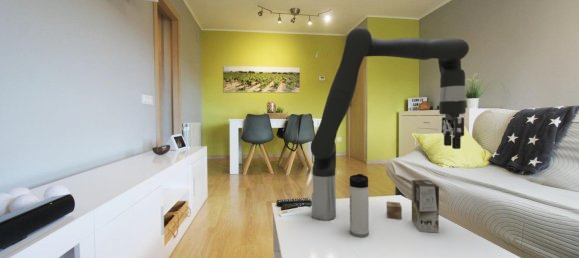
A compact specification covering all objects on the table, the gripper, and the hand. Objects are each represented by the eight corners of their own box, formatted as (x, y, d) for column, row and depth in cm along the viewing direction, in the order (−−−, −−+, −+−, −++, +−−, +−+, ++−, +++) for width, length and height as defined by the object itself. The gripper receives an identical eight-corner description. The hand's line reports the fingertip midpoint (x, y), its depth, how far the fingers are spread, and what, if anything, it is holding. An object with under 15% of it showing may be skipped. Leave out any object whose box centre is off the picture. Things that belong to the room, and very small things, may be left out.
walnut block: (387, 218, 93) (387, 205, 93) (386, 213, 98) (386, 201, 98) (401, 219, 92) (401, 207, 91) (399, 214, 96) (399, 202, 96)
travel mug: (369, 230, 83) (369, 174, 83) (367, 238, 77) (367, 179, 77) (351, 227, 86) (351, 173, 85) (348, 235, 80) (347, 177, 79)
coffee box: (439, 233, 80) (439, 186, 80) (419, 231, 82) (419, 185, 81) (429, 221, 89) (429, 179, 88) (411, 220, 90) (411, 179, 90)
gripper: (434, 102, 89) (433, 144, 90) (446, 99, 75) (446, 149, 76) (457, 101, 87) (456, 145, 87) (474, 98, 73) (473, 150, 74)
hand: (451, 147), depth 82 cm, fingers open, 8 cm apart
